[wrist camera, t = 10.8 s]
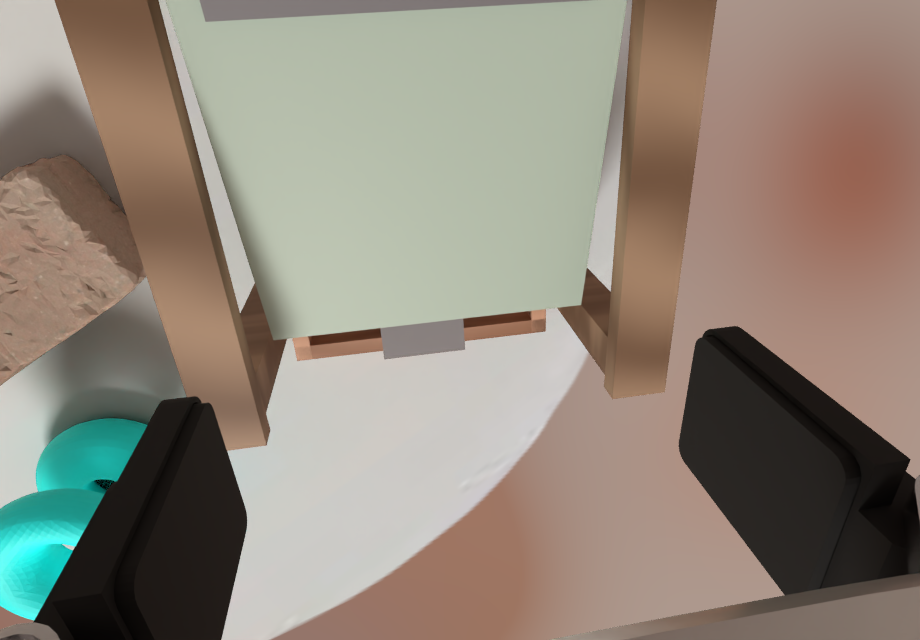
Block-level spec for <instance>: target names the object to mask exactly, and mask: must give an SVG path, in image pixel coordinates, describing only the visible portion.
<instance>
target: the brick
mask: <svg viewBox="0 0 920 640" xmlns="http://www.w3.org/2000/svg"><path fill="white" fill-rule="evenodd" d="M145 277H146V273H145V270H144V267H143V264H142V261H141V258H140V255H139V252H138V249H137V246H136V243H135V240H134V237H133V234H132V231H131V228H130V225H129V222H128V219H127V216H126V215H125V214H124V213H123V212H122V211H121V209H120V208H119V207H118V206H117V205H115V204H114V202H112V201H111V200H110V196H109V195H108V194H107V193H106V192H105V191H104V190H103V189H102V188H101V186H100V184H99V183H98V181H97V180H96V179H95V178H94V176H93V175H92V174H90V173H89V172H88V171H87V170H85V169H84V167H83V166H82V165H81V164H80V163H79V162H78V161H76V160H74V159H72V158H71V157H69V156H67V155H60V156H57V157H54V158H50V159H46V158H42V159H39V160H38V161H36V162H35V163H33V164H28V165H25V166H23V167H20V166H19V167H17V168H15V169H13V170H12V171H10V172H9V173H8V174H6V175H5V176H3V178H2V179H1V180H0V386H1V385H2V384H3V383H4V382H6V381H7V380H8V379H10V378H11V377H12V376H14V375H15V374H17V373H18V372H20V371H21V370H22V369H24V368H25V367H26V366H28V365H29V364H30V363H32V362H33V361H35V360H36V359H38V358H39V357H41V356H42V355H43V354H45V353H46V352H47V351H49V350H50V349H52V348H53V347H55V346H56V345H58V344H60V343H61V342H62V341H65V340H66V339H67V338H68V337H70V336H71V335H73V334H74V333H76V332H77V331H79V330H80V329H82V328H83V327H84V326H86V325H87V324H88V323H90V322H91V321H92V320H94V319H95V318H96V317H98V316H99V315H100V314H102V313H103V312H105V311H106V310H108V309H109V308H111V307H112V306H114V305H115V304H117V303H118V302H119V301H120V300H121V299H123V298H124V297H125V296H126V295H127V294H129V293H130V292H131V291H133V290H134V289H135V287H136V286H137V285H138V283H140V282H141V281H142V280H143V279H144V278H145Z"/></svg>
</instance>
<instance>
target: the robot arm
mask: <svg viewBox="0 0 920 640" xmlns="http://www.w3.org/2000/svg"><path fill="white" fill-rule="evenodd" d="M679 451H680V454H681V457H682V459H683V461H684V462H685V464H686V465H687V466H688V468H689V469H690V470H691V472H692V473H693V474H694V475H695V477H696V478H697V480H698V481H699V482H700V483H701V484H702V486H703V487H704V489H705V490H706V491H707V493H708V494H709V495H710V497H711V498H712V499H713V501H714V502H715V503H716V505H717V506H718V507H719V509H720V510H721V511H722V513H723V514H724V515H725V516H726V518H727V519H728V521H729V522H730V523H731V524H732V526H733V527H734V528H735V530H736V531H737V532H738V534H739V535H740V536H741V538H742V539H743V540H744V541H745V543H746V544H747V546H748V547H749V548H750V549H751V551H752V552H753V554H754V555H755V556H756V558H757V559H758V560H759V562H760V563H761V564H762V566H763V567H764V568H765V570H766V571H767V572H768V573H769V575H770V576H771V577H772V579H773V580H774V581H775V583H776V584H777V585H778V587H779V588H780V589H781V591H782V592H783V593H784V595H785V596H779V597H774V598H769V599H763V600H758V601H752V602H747V603H742V604H737V605H731V606H725V607H720V608H715V609H709V610H704V611H699V612H693V613H688V614H682V615H677V616H672V617H666V618H662V619H656V620H651V621H646V622H640V623H635V624H630V625H625V626H619V627H614V628H609V629H604V630H598V631H593V632H588V633H583V634H578V635H572V636H567V637H561V638H557V639H551V640H920V475H919V476H918V477H917V478H916V479H915V478H913V477H912V476H911V475H910V474H908V473H907V472H906V469H907V467H908V464H909V462H910V459H909V458H908V457H907V456H906V455H904V454H903V453H902V452H900V451H899V450H898V449H896V448H895V447H894V446H893V445H891V444H890V443H889V442H887V441H886V440H884V439H883V438H882V437H881V436H880V435H878V434H877V433H876V432H875V431H873V430H872V429H871V428H869V427H868V426H867V425H865V424H864V423H862V421H860V420H859V419H858V418H856V417H855V416H854V415H852V414H851V413H850V412H849V411H847V410H846V409H845V408H844V407H842V406H841V405H840V404H838V403H837V402H836V401H835V400H833V399H832V398H831V397H829V396H828V395H827V394H825V393H824V392H823V391H822V390H820V389H819V388H818V387H816V386H815V385H814V384H812V383H811V382H810V381H808V380H807V379H806V378H805V377H803V376H802V375H801V374H799V373H798V372H797V371H796V370H794V369H793V368H792V367H791V366H789V365H788V364H787V363H785V362H784V361H783V360H782V359H780V358H779V357H778V356H776V355H775V354H774V353H773V352H771V351H770V350H769V349H767V348H766V347H765V346H763V345H762V344H761V343H759V342H758V341H757V340H756V339H754V338H753V337H752V336H751V335H749V334H748V333H747V332H745V331H744V330H743V329H741V328H740V327H736V326H733V327H725V328H717V329H709V330H707V331H706V332H705V333H704V334H703V337H702V338H699V339H698V340H697V341H696V345H695V350H694V356H693V361H692V367H691V373H690V379H689V385H688V391H687V397H686V404H685V410H684V415H683V421H682V427H681V433H680V439H679ZM246 529H247V514H246V509H245V506H244V503H243V500H242V497H241V493H240V490H239V487H238V484H237V481H236V478H235V475H234V471H233V468H232V465H231V462H230V459H229V456H228V453H227V450H226V446H225V443H224V440H223V437H222V434H221V431H220V428H219V425H218V421H217V418H216V415H215V412H214V409H213V407H212V405H211V404H210V403H202V402H201V400H200V399H199V398H198V397H197V396H192V397H185V398H177V399H169V400H163V401H161V403H160V404H159V405H158V407H157V409H156V411H155V413H154V414H153V416H152V418H151V420H150V422H149V424H148V425H147V427H146V429H145V431H144V433H143V435H142V436H141V438H140V440H139V442H138V444H137V446H136V447H135V449H134V451H133V453H132V455H131V457H130V459H129V460H128V462H127V464H126V466H125V468H124V470H123V471H122V473H121V475H120V477H119V479H118V481H116V482H115V483H113V484H111V486H110V487H109V488H108V490H107V491H106V492H105V494H104V496H103V498H102V500H101V501H100V503H99V505H98V507H97V509H96V510H95V512H94V514H93V516H92V518H91V519H90V521H89V523H88V525H87V527H86V528H85V530H84V532H83V534H82V536H81V537H80V539H79V541H78V543H77V545H76V546H75V548H74V550H73V552H72V554H71V555H70V557H69V559H68V561H67V563H66V564H65V566H64V568H63V570H62V572H61V573H60V575H59V577H58V579H57V581H56V582H55V584H54V586H53V588H52V590H51V591H50V593H49V595H48V597H47V599H46V600H45V602H44V604H43V606H42V608H41V609H40V611H39V613H38V615H37V617H36V618H35V620H34V622H33V623H23V624H16V625H13V626H10V627H7V628H4V629H1V630H0V640H221V638H222V634H223V629H224V625H225V621H226V616H227V612H228V608H229V603H230V599H231V595H232V590H233V586H234V582H235V577H236V573H237V569H238V564H239V560H240V556H241V551H242V547H243V542H244V538H245V534H246Z"/></svg>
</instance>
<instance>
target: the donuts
mask: <svg viewBox="0 0 920 640" xmlns="http://www.w3.org/2000/svg"><path fill="white" fill-rule="evenodd" d="M146 427H147V425H146V424H143V423H140V422H136V421H132V420H127V419H118V418H105V419H96V420H91V421H87V422H83V423H80V424H77V425H75V426H72V427H70V428H68V429H67V430H65V431H63V432H62V433H60V434H59V435H58V436H56V437H55V438H54V439H53V440H52V441H51V442H50V443H49V444H48V445H47V447H46V448H45V449H44V451H43V452H42V454H41V456H40V459H39V461H38V464H37V468H36V485H37V489H38V492H36V493H32V494H29V495H26V496H23V497H21V498H19V499H17V500H14V501H12V502H10V503H8V504H7V505H5V506H4V507H2V508H1V509H0V606H1V607H3V608H5V609H7V610H8V611H10V612H12V613H14V614H17V615H19V616H22V617H24V618H28V619H31V620H35V618H36V617H37V615H38V613H39V611H40V609H41V608H42V606H43V604H44V602H45V600H46V599H47V597H48V595H49V593H50V591H51V590H52V588H53V586H54V584H55V582H56V581H57V579H58V577H59V575H60V573H61V572H62V570H63V568H64V566H65V564H66V563H67V561H68V559H69V557H70V555H71V554H72V552H73V551H72V550H70V549H68V548H66V547H65V546H63V545H62V544H66V545H72V546H76V545H77V543H78V541H79V539H80V537H81V536H82V534H83V532H84V530H85V528H86V527H87V525H88V523H89V521H90V519H91V518H92V516H93V514H94V512H95V510H96V509H97V507H98V505H99V503H100V501H101V500H102V498H103V496H104V494H105V492H106V491H107V490H106V489H104V488H102V487H100V486H99V485H98V484H96V483H95V482H94V480H100V479H106V480H112V481H118V479H119V477H120V475H121V473H122V471H123V470H124V468H125V466H126V464H127V462H128V460H129V459H130V457H131V455H132V453H133V451H134V449H135V447H136V446H137V444H138V442H139V440H140V438H141V436H142V435H143V433H144V431H145V429H146Z"/></svg>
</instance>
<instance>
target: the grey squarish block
mask: <svg viewBox="0 0 920 640" xmlns="http://www.w3.org/2000/svg"><path fill="white" fill-rule="evenodd" d="M380 330H381V337H382V345H383V352H384V359H391V358H399V357H407V356H416V355H424V354H432V353H440V352H449V351H457V350H465V340H464V323H463V319H455V320H446V321H437V322H429V323H420V324H411V325H403V326H394V327H385V328H380Z"/></svg>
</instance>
